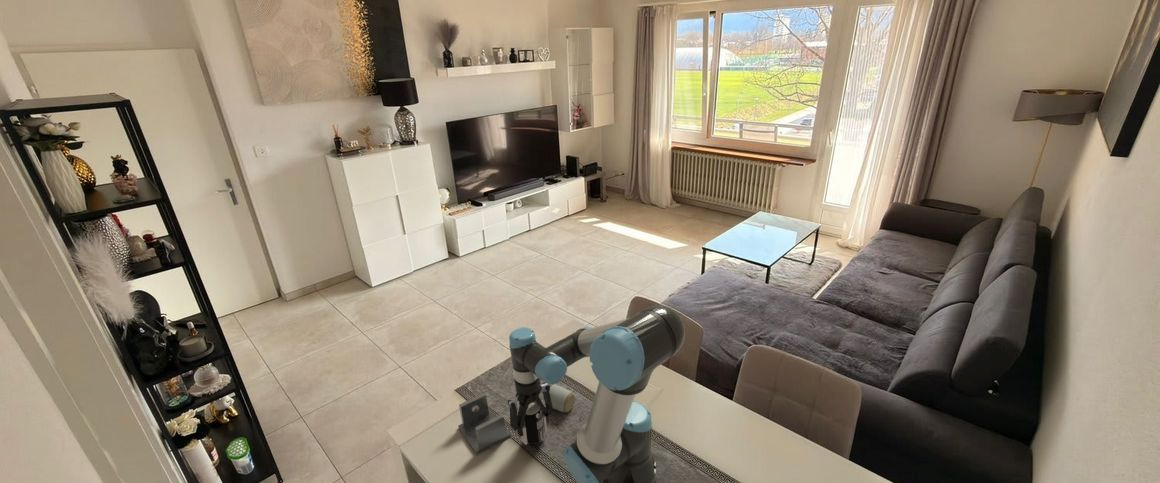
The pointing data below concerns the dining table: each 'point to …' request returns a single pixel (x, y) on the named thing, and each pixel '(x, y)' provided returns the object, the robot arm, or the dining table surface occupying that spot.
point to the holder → (481, 424)
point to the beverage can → (534, 424)
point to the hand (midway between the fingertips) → (534, 436)
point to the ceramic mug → (561, 398)
